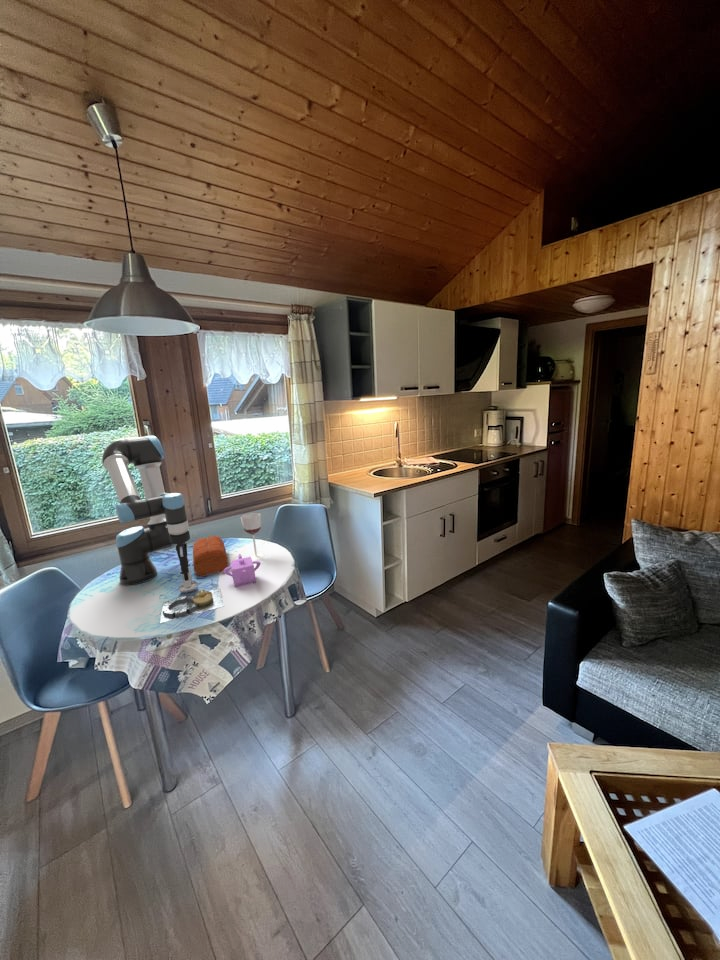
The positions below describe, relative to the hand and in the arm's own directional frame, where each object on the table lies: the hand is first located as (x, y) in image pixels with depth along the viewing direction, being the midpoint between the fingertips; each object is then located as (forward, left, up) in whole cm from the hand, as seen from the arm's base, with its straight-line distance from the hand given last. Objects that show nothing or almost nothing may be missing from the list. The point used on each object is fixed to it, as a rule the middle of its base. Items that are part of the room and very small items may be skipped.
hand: (188, 584), depth 160 cm
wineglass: (-23, +31, -5) cm, 39 cm away
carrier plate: (+13, +1, -5) cm, 13 cm away
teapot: (+2, +22, -5) cm, 23 cm away
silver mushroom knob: (0, 0, -2) cm, 2 cm away
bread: (-29, +10, -5) cm, 31 cm away
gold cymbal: (+13, +5, -3) cm, 14 cm away
